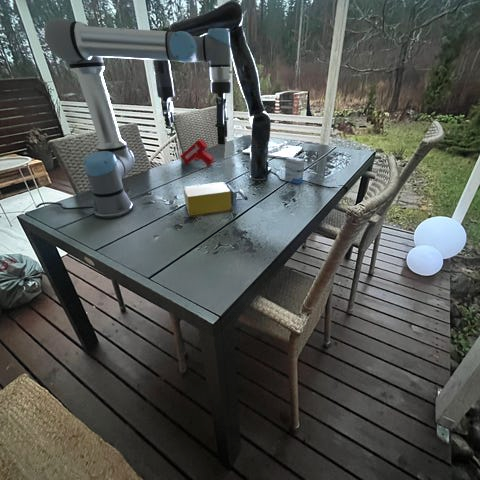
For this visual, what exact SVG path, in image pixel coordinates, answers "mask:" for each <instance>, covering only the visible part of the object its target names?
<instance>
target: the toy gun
mask: <svg viewBox="0 0 480 480" xmlns="http://www.w3.org/2000/svg"><path fill="white" fill-rule="evenodd" d="M207 148H208V144H207V143H206V142H205V140H204V139H203V138H200V139H198V140H197V141H196V142H194V143H193V144H192V145H191V146H190V147H189V148H188V149H186V151H184V152H183V153H182V154H181V155H180V159H181V160H182V161H183V163H184V164H185V165H187V164H189V163H191V162H192V161H193V160H194V161H196V162H198V161H200V160H202V161H203V162H204V163H205V165H206V166H207V167H208V166H210V165H211V164H213V163H214V160H215V158H214V156H212V155H210V154H209V153H208V152H207V151H206V150H207Z"/></svg>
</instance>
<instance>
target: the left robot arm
mask: <svg viewBox="0 0 480 480" xmlns="http://www.w3.org/2000/svg"><path fill="white" fill-rule="evenodd" d="M44 39H45V43H46V44H47V46H48V48H49V49H50V51H51V52H52V53H53V54H54V55H55V56H56V57H57V58H59V59H60V60H62V61H64V62H67V63H68V67H69V69H70V71H71V72H72V73H74V74H75V75H76V76H77V79H78V82H79V85H80V88H81V91H82V94H83V98H84V100H85V103H86V106H87V110H88V112H89V115H90V119H91V121H92V125H93V128H94V131H95V133H96V137H97V140H98V144H97V146H96V150H97V151H96V152H93V153H89V154H87V155H86V156H85V157H84V159H83V167H84V171H85V173H86V176H87V179H88V183H89V185H90V188H91V192H92V195H93V205H89V206H74V207H73V206H72V207H65V206H64V204H63V203H61V202H55V201H53V202H52V201H45V202H41V203H39V204H37V205H36V206H35V209H39V208H40V207H41V206H43V205H44V206H45V205H57V206H58V205H59V206H60V207H61V209H63V210H70V211H71V210H80V209H81V210H82V209H83V210H84V209H93V213H94V216H95V217H96V218H98V219H103V220H104V219H105V220H109V219H116V218H120V217H124V216H126V215H128V214H130V213H131V212H132V211H133V210H134V206H133V202H132V201H131V199H130V198H129V197H128V195H127V192H126V191H125V188H124V185H123V181H122V179H123V178H124V177H125V176H126V175H128V174H129V173H130V172H131V171H132V170H133V168H134V166H135V156H134V153H133V151H131V149H130V148H128V145H127V142H126V141H124V140H123V139H122V137H121V134H120V130H119V127H118V123H117V121H116V116H115V113H114V109H113V106H112V103H111V99H110V95H109V92H108V89H107V86H106V82H105V79H104V76H103V72H104V70H105V68H106V67H105V62H104V59H103V58H115V59H117V58H118V59H132V60H133V59H134V60H135V59H136V60H150V61H151V60H152V61H153V60H169V62H170V61H171V62H180V63H186V64H188V63H209V77H210V78H209V79H210V80H211V81H210V90H211V91H210V92H211V93H212V94H217V96H216V98H215V104H216V105H215V107H216V108H215V109H216V123H215V124H214V127H215V128H216V132H217V133H216V134H217V145H226V138H228V121H229V117H228V111H227V107H228V105H227V103H228V98H227V94H231V92H232V83H231V81H230V80H231V78H232V77H231V75H232V74H233V70H231V49H230V34H229V31H228V30H227V29H223V28H212V29H209V30H208V33H207V35H203V36H192V35H191V34H189V33H187V32H185V31H178V32H167V31H154V30H151V29H137V28H135V29H134V28H121V27H120V28H119V27H103V26H89V25H87V24H85V23H84V22H82V21H76V20H71V19H67V18H65V17H64V18H63V17H55V18H52V19H50V20H49V21H48V22H47V23H46V24H45V27H44Z"/></svg>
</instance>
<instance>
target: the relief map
mask: <svg viewBox="0 0 480 480" xmlns="http://www.w3.org/2000/svg"><path fill="white" fill-rule="evenodd" d="M302 147H303V146H294V145H292V144H290V143H289V142H288V141H284V142H282V143H280V144H279V143H278V142H276V141H273V140H272V139H271V138H270V140H269V145H268V157H271V158H277V159H285V160H286V159H287V158H289V157H296V156H297V155H298V154H299V153H300V152H302V151H303V150H304V148H303V149H302ZM250 148H251V145H250V146H249V147H248V148H247V149H245V150H242V153H243V154H247V155H248V154H249V155H250ZM296 153H297V154H296Z"/></svg>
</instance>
